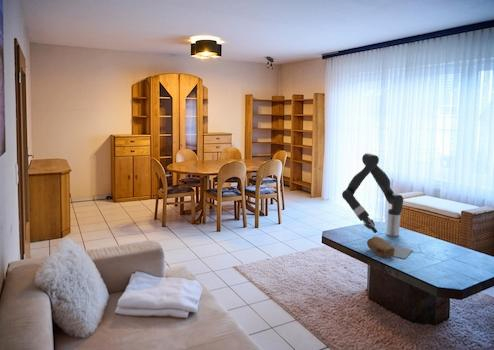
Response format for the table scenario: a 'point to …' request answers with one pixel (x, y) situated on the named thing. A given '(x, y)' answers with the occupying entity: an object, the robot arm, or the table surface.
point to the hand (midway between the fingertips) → (376, 232)
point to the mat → (401, 252)
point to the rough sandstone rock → (381, 247)
